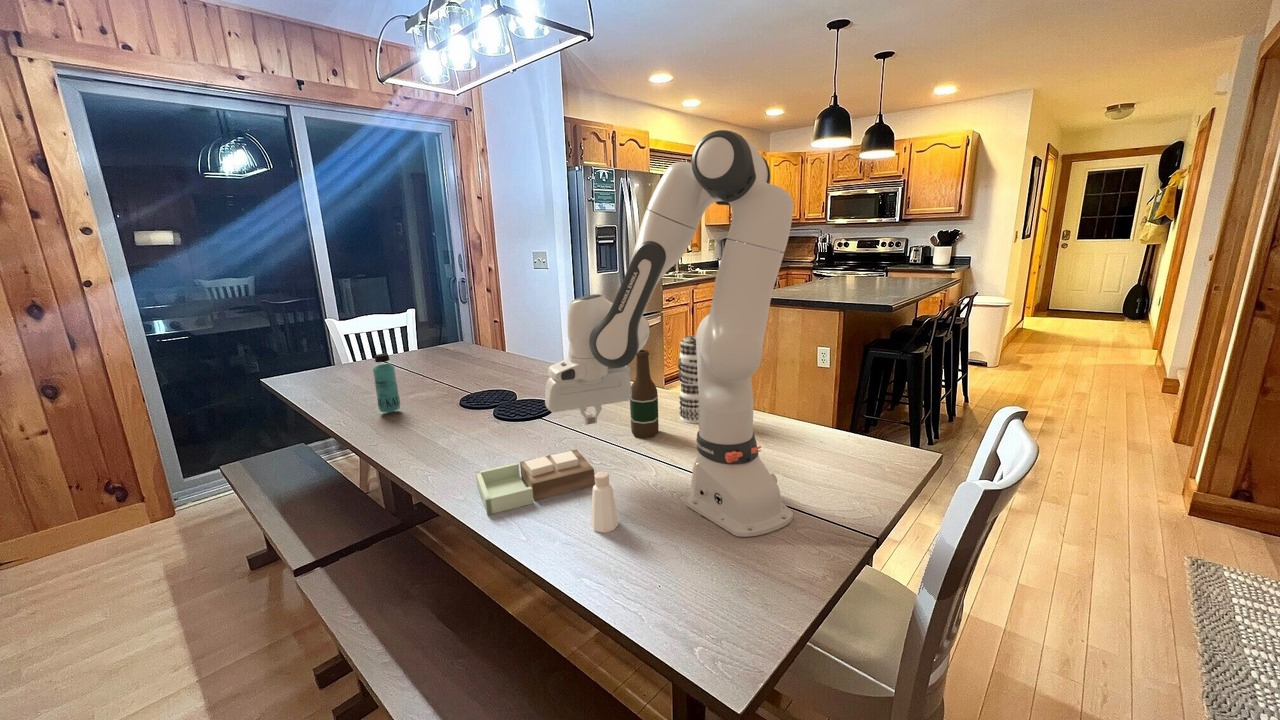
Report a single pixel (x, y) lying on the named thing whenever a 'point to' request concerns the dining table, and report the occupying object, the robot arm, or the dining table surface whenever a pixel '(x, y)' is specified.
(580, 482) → the wooden tile base
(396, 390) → the beverage bottle
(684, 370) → the decorative candle
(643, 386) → the beer bottle
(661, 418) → the dining table surface
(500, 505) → the tray
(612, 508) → the salt shaker
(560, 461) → the tile
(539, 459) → the tile
